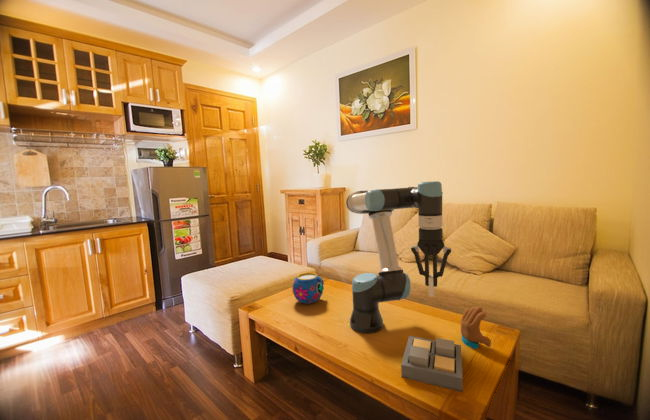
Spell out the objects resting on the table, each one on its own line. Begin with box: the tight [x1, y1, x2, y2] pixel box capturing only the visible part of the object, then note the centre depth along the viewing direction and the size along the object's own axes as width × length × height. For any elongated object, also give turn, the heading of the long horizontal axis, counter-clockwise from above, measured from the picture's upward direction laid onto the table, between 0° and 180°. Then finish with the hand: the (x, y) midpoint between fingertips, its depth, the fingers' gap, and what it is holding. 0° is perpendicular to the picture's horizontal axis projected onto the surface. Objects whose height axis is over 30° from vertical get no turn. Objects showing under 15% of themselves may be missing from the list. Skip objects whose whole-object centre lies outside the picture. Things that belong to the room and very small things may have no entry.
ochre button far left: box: [413, 338, 431, 353], centre depth 102 cm, size 6×6×4 cm
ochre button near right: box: [434, 355, 454, 373], centre depth 92 cm, size 6×6×4 cm
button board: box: [400, 335, 464, 393], centre depth 97 cm, size 18×18×4 cm
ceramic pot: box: [291, 272, 325, 304], centre depth 156 cm, size 18×18×15 cm
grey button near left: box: [409, 345, 429, 367], centre depth 95 cm, size 6×6×4 cm
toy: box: [460, 306, 492, 350], centre depth 108 cm, size 12×7×15 cm, turn 5°
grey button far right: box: [435, 337, 455, 358], centre depth 99 cm, size 6×6×4 cm
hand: (431, 294), depth 95 cm, fingers closed
